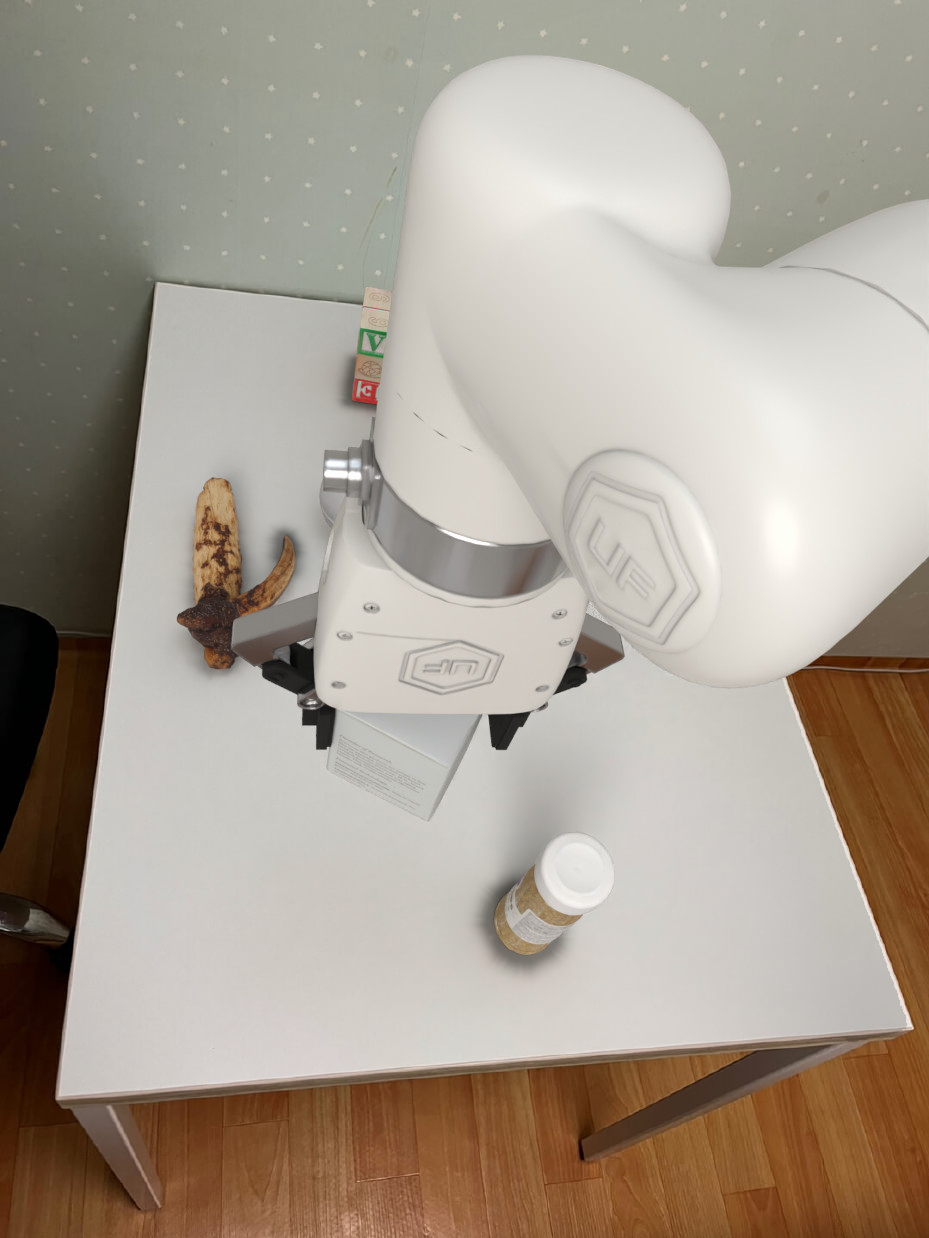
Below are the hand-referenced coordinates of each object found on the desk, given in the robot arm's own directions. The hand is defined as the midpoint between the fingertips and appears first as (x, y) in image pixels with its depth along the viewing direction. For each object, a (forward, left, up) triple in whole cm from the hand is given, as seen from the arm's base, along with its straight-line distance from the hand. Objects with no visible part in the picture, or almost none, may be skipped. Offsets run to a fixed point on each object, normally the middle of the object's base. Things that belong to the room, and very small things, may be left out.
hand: (411, 722), depth 43 cm
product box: (0, 0, -4) cm, 4 cm away
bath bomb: (+28, -12, -23) cm, 38 cm away
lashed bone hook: (+26, 0, -23) cm, 34 cm away
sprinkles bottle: (-9, -8, -23) cm, 26 cm away
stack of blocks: (+40, -28, -23) cm, 54 cm away
